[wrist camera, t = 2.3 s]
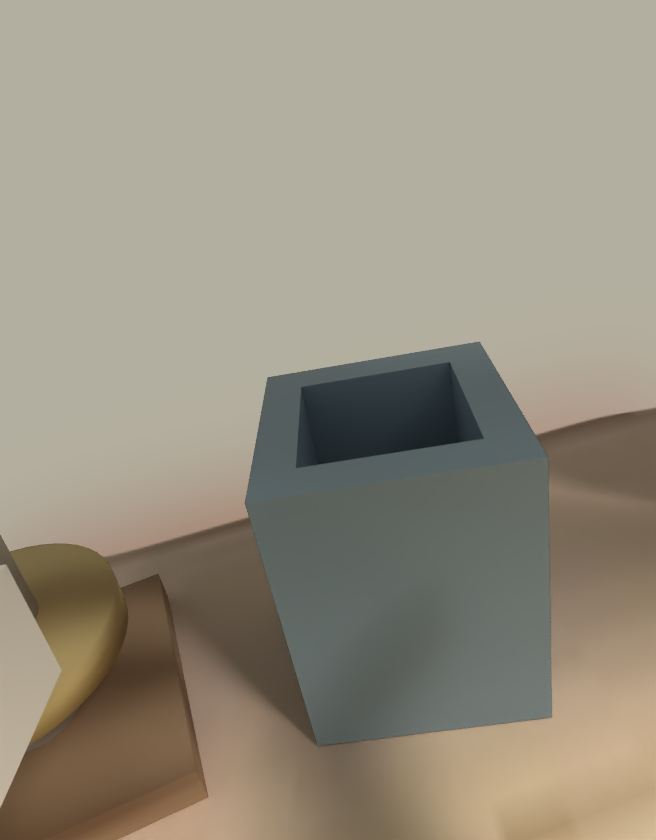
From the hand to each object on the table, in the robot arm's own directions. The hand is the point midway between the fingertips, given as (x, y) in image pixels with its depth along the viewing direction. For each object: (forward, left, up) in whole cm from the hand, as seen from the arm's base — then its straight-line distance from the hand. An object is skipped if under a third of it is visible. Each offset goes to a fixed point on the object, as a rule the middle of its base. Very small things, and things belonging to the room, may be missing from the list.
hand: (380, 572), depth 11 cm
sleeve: (+9, -4, -13) cm, 17 cm away
